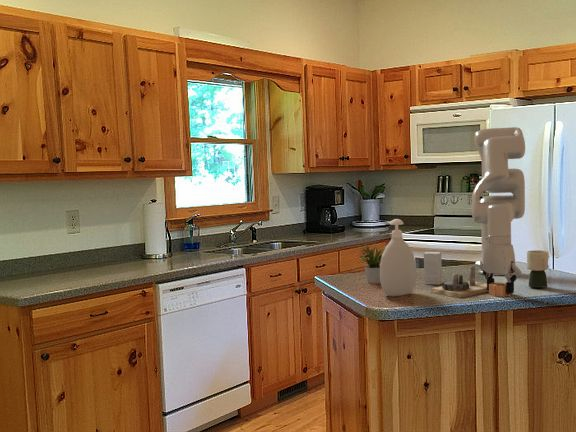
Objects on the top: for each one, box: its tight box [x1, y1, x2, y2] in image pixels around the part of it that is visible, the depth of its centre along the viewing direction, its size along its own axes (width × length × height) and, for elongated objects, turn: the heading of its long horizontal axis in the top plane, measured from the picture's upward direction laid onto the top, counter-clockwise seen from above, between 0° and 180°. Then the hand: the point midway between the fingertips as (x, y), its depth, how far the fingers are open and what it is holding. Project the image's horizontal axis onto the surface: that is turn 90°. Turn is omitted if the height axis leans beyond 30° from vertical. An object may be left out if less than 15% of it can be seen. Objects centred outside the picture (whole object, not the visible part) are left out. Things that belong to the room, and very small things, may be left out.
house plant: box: [356, 243, 386, 284], centre depth 233 cm, size 14×14×16 cm
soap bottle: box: [379, 218, 417, 298], centre depth 208 cm, size 14×8×27 cm, turn 113°
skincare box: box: [423, 251, 443, 286], centre depth 225 cm, size 6×4×12 cm
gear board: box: [430, 265, 489, 299], centre depth 210 cm, size 13×20×8 cm, turn 122°
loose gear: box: [488, 281, 511, 298], centre depth 202 cm, size 7×7×4 cm
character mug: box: [526, 249, 550, 289], centre depth 210 cm, size 11×7×13 cm, turn 8°
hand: (500, 291), depth 202 cm, fingers closed on loose gear, 7 cm apart
